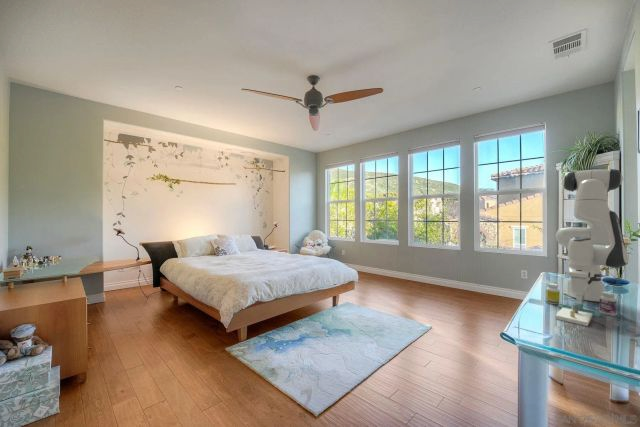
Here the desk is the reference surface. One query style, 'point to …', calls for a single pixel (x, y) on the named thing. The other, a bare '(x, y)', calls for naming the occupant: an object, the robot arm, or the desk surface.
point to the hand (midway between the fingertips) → (580, 301)
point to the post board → (574, 316)
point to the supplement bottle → (552, 294)
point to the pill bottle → (608, 304)
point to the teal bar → (580, 309)
